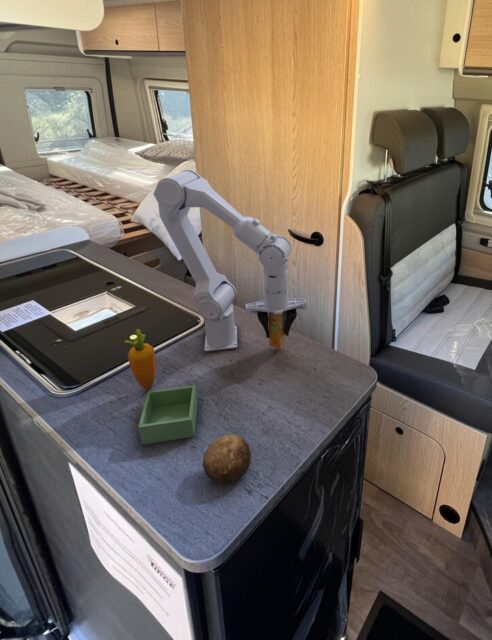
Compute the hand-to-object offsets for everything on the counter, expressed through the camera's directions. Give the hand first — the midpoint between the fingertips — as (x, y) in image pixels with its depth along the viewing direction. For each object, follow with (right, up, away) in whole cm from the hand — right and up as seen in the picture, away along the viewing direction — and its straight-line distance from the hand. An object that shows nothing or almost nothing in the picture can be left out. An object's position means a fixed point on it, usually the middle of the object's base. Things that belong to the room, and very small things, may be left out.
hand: (277, 334), depth 97 cm
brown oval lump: (-4, -18, -29) cm, 34 cm away
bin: (-18, -13, -20) cm, 30 cm away
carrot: (-26, -10, -13) cm, 31 cm away
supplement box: (0, -3, +1) cm, 3 cm away
